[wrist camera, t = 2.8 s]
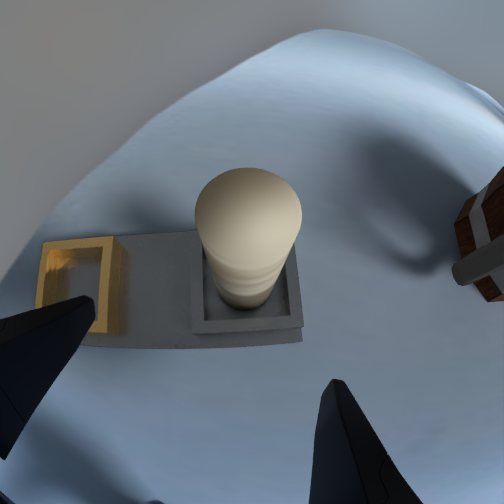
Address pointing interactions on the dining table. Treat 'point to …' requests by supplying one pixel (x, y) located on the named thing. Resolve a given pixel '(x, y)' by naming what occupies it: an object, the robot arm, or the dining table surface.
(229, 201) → the peg
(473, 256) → the mug
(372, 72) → the dining table surface
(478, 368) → the dining table surface
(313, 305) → the dining table surface
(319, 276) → the dining table surface
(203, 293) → the grey socket board
